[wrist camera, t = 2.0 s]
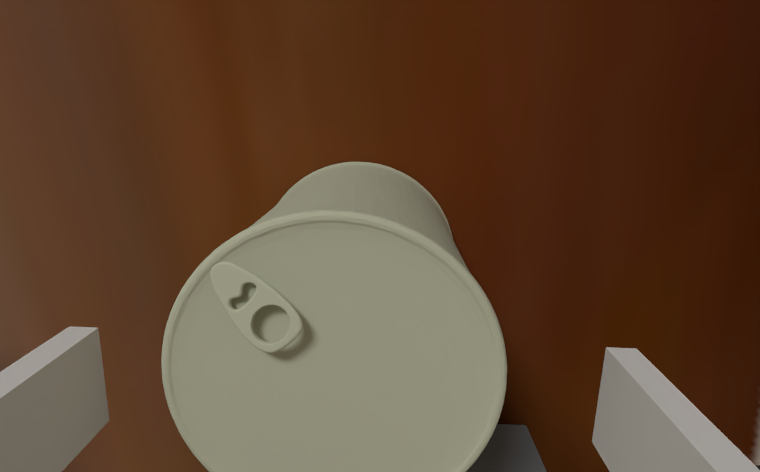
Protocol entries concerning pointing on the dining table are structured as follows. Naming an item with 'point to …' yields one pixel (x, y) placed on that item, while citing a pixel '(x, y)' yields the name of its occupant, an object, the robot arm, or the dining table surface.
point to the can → (337, 337)
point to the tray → (509, 452)
